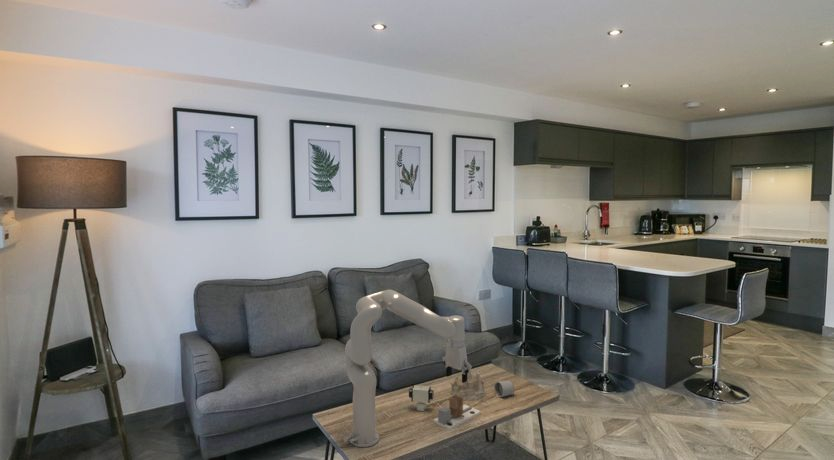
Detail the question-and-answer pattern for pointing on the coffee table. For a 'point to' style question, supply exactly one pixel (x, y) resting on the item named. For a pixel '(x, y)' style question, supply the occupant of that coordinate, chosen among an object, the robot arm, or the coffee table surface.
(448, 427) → the board
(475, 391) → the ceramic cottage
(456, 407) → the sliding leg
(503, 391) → the ceramic mug
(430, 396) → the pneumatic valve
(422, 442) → the coffee table surface
